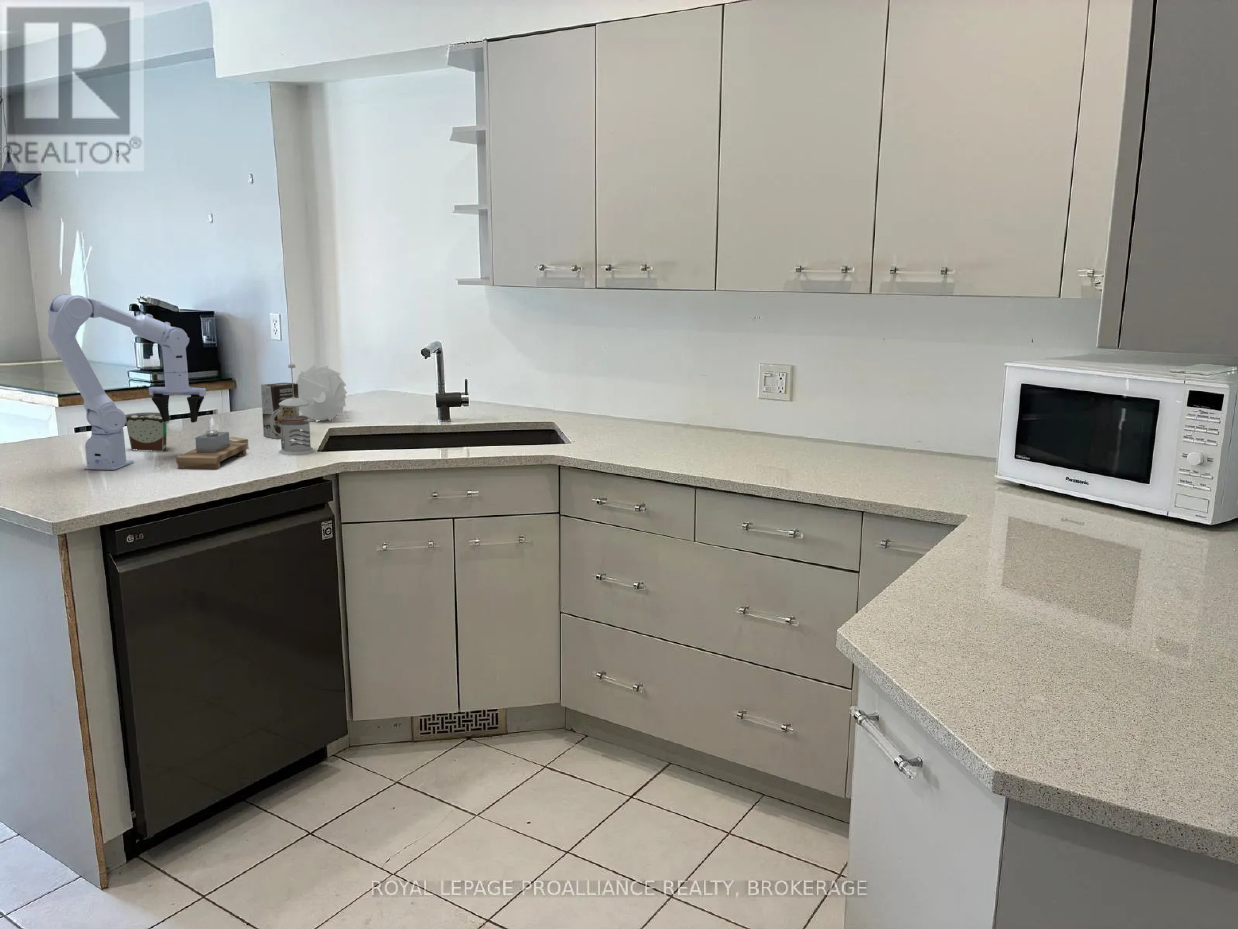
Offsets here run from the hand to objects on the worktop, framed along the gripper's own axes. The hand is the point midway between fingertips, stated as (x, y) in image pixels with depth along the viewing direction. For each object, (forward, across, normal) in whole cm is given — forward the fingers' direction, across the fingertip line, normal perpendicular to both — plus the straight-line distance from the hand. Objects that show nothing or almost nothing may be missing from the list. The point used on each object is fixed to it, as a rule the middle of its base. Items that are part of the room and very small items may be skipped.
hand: (180, 421), depth 245 cm
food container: (+10, +12, -8) cm, 17 cm away
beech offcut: (+10, -10, -11) cm, 18 cm away
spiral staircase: (+10, -17, -65) cm, 68 cm away
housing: (+6, -11, +6) cm, 14 cm away
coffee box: (+10, -16, -31) cm, 36 cm away
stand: (+9, -11, +6) cm, 16 cm away
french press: (+10, -28, -8) cm, 30 cm away
